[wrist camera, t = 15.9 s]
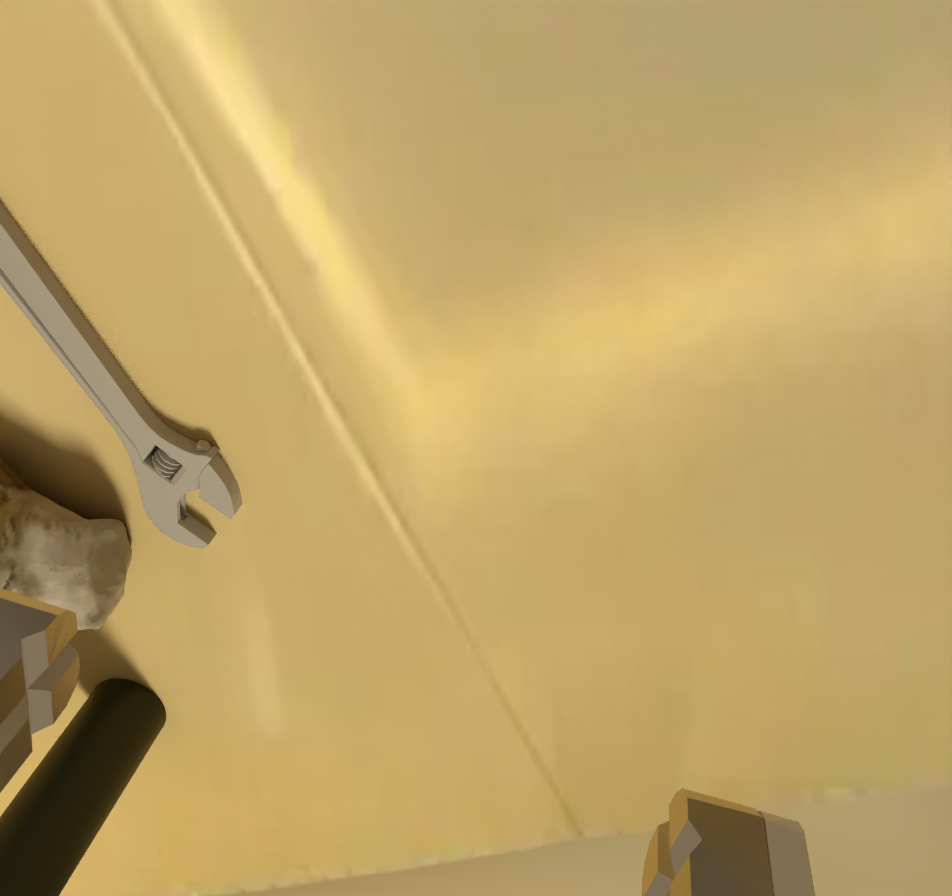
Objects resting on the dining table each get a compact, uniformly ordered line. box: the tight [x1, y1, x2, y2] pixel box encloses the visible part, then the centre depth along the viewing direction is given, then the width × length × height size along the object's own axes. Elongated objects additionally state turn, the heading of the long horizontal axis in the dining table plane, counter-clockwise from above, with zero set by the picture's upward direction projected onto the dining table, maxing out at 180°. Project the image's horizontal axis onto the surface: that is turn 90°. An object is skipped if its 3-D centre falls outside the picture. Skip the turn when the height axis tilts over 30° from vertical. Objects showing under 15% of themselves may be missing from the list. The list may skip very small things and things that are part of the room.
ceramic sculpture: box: [0, 458, 132, 630], centre depth 53 cm, size 11×9×15 cm
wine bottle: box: [0, 679, 166, 896], centre depth 52 cm, size 6×6×30 cm
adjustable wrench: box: [0, 202, 242, 548], centre depth 49 cm, size 25×6×2 cm, turn 24°
